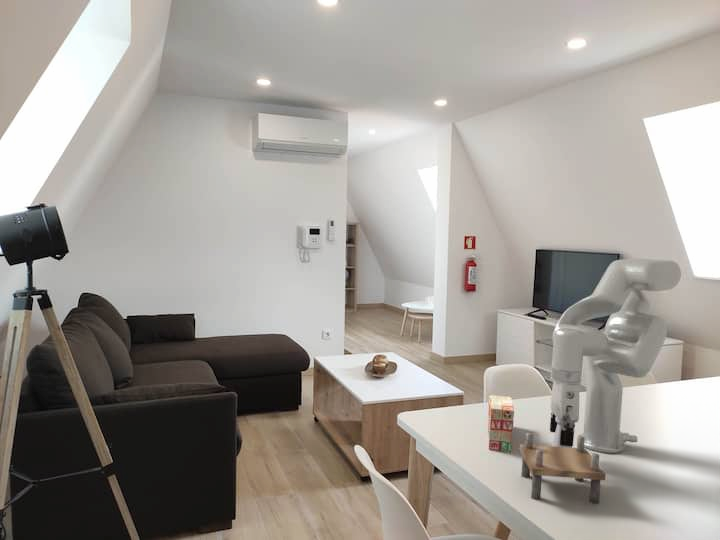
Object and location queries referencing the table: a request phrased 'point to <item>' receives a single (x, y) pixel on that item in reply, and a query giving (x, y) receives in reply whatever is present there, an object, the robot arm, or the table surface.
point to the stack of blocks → (500, 423)
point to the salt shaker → (558, 434)
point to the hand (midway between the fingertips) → (560, 438)
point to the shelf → (561, 465)
